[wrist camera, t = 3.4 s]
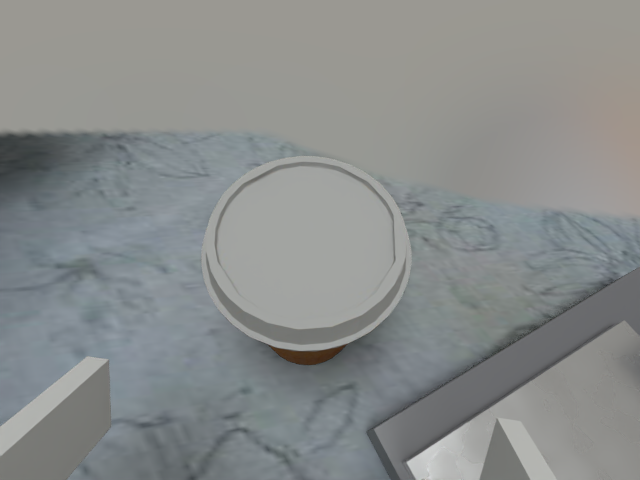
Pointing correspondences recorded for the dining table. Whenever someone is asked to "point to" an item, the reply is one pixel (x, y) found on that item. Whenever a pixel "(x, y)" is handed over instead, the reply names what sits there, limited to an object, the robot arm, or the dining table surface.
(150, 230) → the dining table surface
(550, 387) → the scale pan
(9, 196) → the dining table surface
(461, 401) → the kitchen scale
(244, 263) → the disposable coffee cup
